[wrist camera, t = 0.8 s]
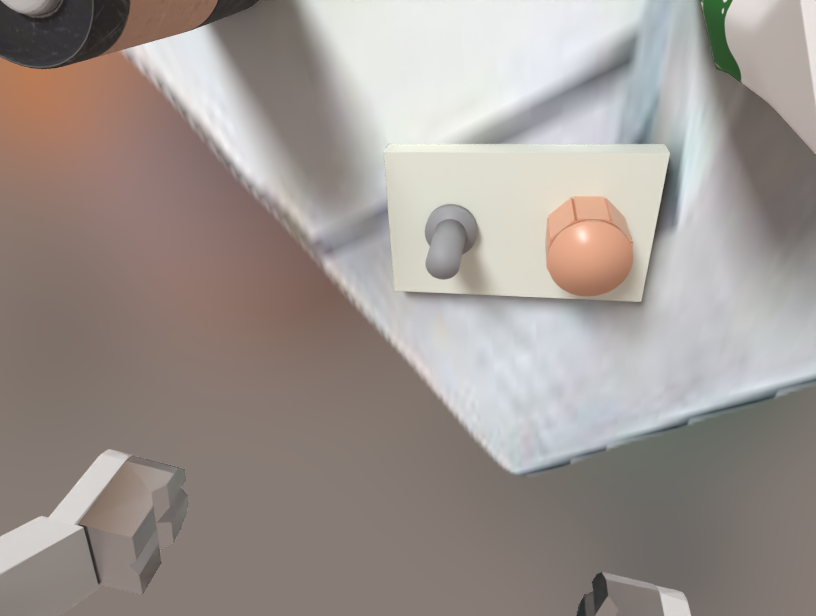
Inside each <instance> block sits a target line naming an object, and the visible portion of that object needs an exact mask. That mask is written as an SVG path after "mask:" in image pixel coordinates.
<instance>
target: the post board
mask: <svg viewBox="0 0 816 616" xmlns="http://www.w3.org/2000/svg"><path fill="white" fill-rule="evenodd" d="M669 155H670V152H669V151H668V149H667V148H666V146H665V144H389V145H388V146H387V148H386V149H385V151H384V163H385V176H386V189H387V202H388V216H389V229H390V242H391V255H392V268H393V281H394V291H411V292H433V293H455V294H477V295H499V296H521V297H543V298H565V299H588V300H610V301H632V302H641V300H642V295H643V289H644V284H645V279H646V274H647V269H648V264H649V259H650V253H651V248H652V243H653V238H654V233H655V228H656V222H657V217H658V212H659V207H660V202H661V197H662V191H663V186H664V181H665V176H666V171H667V166H668V160H669ZM574 196H604V199H605V198H607V199H608V200H609V201H610V202H611V203H612V204H613V205H614V206H615V207H616V208H617V209H618V210H619V212H620V213H621V214H622V215H623V216H624V217H625V220H626V223H627V226H628V229H629V232H630V235H631V238H632V241H633V249H632V252H633V264H632V268H631V270H630V273H629V274H628V276H627V277H626V279H625V280H624V281H623V282H622V283H621V284H620V285H619V286H617V287H616V288H615V289H613V290H611V291H609V292H607V293H604V294H601V295H597V296H578V295H574V294H571V293H569V292H566V291H565V290H563V289H561V288H560V287H559V286H558V285H557V284H556V283H555V282H554V280H553V279H552V277H551V275H550V273H549V271H548V270H547V268H546V250H545V239H546V227H547V218H549V215H550V214H551V213H552V212H553V211H554V210H556V209H557V208H558V207H559V206H561V205H562V204H563V203H564V202H565V201H567V200H568V199H569V198H570V197H571V198H572V199H573V197H574Z"/></svg>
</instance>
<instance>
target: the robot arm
mask: <svg viewBox="0 0 816 616" xmlns="http://www.w3.org/2000/svg"><path fill="white" fill-rule="evenodd" d="M185 481H186V476H185V469H183V468H179V467H175V466H171V465H168V464H164V463H160V462H156V461H152V460H149V459H144V458H141V457H137V456H135V455H131V454H127V453H123V452H118V451H115V450H111V449H108V450H107V451H105V452H104V453H102V454H101V455H99V457H98V458H97V459H96V460H95V461H94V463H93V464H92V465H91V466H90V468H89V469H88V470H87V471H86V472H85V474H84V475H83V476H82V477H81V479H80V480H79V481H78V482H77V484H76V485H75V486H74V487H73V488H72V489H71V491H70V492H69V493H68V495H67V496H66V497H65V498H64V499H63V501H62V502H61V503H60V504H59V505H58V506H57V508H56V509H55V510H54V511H53V513H52V514H51V515H50V516H49V517H44V516H40V517H38V518H36V519H34V520H32V521H30V522H28V523H26V524H24V525H22V526H20V527H18V528H16V529H14V530H12V531H10V532H8V533H6V534H4V535H2V536H0V616H61V615H63V614H64V613H65V612H67V611H68V610H70V609H71V608H72V607H74V606H75V605H76V604H78V603H79V602H80V601H82V600H83V599H85V598H86V597H87V596H89V595H90V594H91V593H93V592H94V591H95V590H97V589H98V588H99V585H101V586H106V587H110V588H114V589H118V590H123V591H127V592H131V593H136V594H140V595H143V594H144V592H145V590H146V589H147V587H148V585H149V583H150V582H151V580H152V578H153V576H154V575H155V573H156V571H157V570H158V568H159V566H160V565H161V556H160V550H162V549H163V548H165V547H166V546H168V545H169V544H171V543H173V542H174V540H175V539H176V537H177V535H178V533H179V531H180V530H181V527H182V524H183V522H184V519H185V516H186V513H187V507H188V495H187V494H186V493H185V492H184V490H183V489H182V486H183V485H184V483H185ZM592 586H593V591H592V592H590V593H587V594H584V596H583V598H582V600H581V602H580V604H579V606H578V611H577V615H576V616H691V613H690V609H689V605H688V601H687V598H686V597H685V595H684V594H683V593H682V592H680V591H678V590H673V589H669V588H664V587H660V586H656V585H653V584H651V583H647V582H643V581H638V580H634V579H630V578H626V577H621V576H617V575H613V574H608V573H604V572H600V573H598V574H597V575H596V576H595V578H594V579H593V581H592Z"/></svg>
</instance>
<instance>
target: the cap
mask: <svg viewBox="0 0 816 616" xmlns="http://www.w3.org/2000/svg"><path fill="white" fill-rule="evenodd" d="M632 249H633V241H632V238H631V235H630V232H629V229H628V226H627V223H626V220H625V217H624V216H623V215H622V214H621V213H620V212H619V210H618V209H617V208H616V207H615V206H614V205H613V204H612V203H611V202H610V201H609V200H608V199H607V198H605V199H604V196H574V197H573V199H572V198H571V197H570V198H569V199H568V200H567V201H565V202H564V203H563V204H562V205H561V206H559V207H558V208H557V209H556V210H554V211H553V212H552V213H551V214H550V215H549V218H547V227H546V239H545V250H546V268H547V270H548V271H549V273H550V275H551V277H552V279H553V280H554V282H555V283H556V284H557V285H558V286H559V287H560V288H561V289H563V290H565V291H566V292H569V293H571V294H574V295H578V296H597V295H601V294H604V293H607V292H609V291H611V290H613V289H615V288H616V287H617V286H619V285H620V284H621V283H622V282H623V281H624V280H625V279H626V277H627V276H628V274H629V273H630V270H631V268H632V264H633V252H632Z"/></svg>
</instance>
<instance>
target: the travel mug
mask: <svg viewBox="0 0 816 616" xmlns="http://www.w3.org/2000/svg"><path fill="white" fill-rule="evenodd" d="M257 1H258V0H0V57H2V58H4V59H6V60H8V61H10V62H13V63H15V64H18V65H21V66H25V67H29V68H37V69H50V68H58V67H62V66H66V65H70V64H73V63H77V62H81V61H84V60H88V59H91V58H94V57H98V56H102V55H105V54H109V53H112V52H116V51H120V50H123V49H127V48H130V47H134V46H137V45H141V44H145V43H148V42H152V41H155V40H159V39H162V38H166V37H170V36H173V35H177V34H180V33H184V32H187V31H190V30H193V29H196V28H198V27H201V26H204V25H206V24H209V23H211V22H214V21H217V20H219V19H222V18H224V17H227V16H230V15H232V14H235V13H237V12H240V11H242V10H244V9H247V8H249V7H250V6H252V5H253V4H255V3H256V2H257Z"/></svg>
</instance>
